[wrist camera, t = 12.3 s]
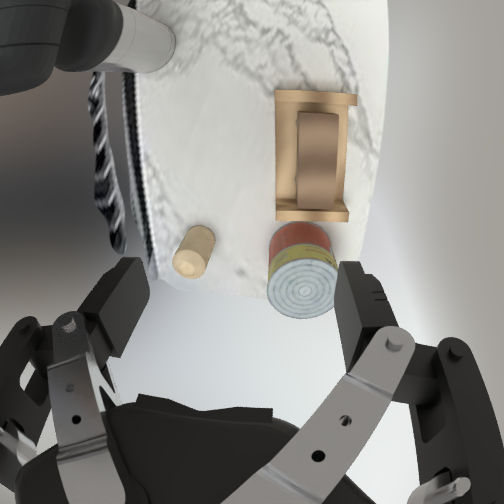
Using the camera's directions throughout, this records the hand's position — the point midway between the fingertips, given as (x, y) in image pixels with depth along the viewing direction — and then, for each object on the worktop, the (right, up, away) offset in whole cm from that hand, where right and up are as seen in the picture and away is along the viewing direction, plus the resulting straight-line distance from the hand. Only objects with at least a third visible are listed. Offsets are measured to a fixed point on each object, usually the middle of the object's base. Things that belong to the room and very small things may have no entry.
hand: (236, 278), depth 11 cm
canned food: (+9, +2, +41) cm, 42 cm away
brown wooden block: (+9, +15, +27) cm, 32 cm away
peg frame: (+10, +17, +31) cm, 37 cm away
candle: (-9, +4, +41) cm, 42 cm away
